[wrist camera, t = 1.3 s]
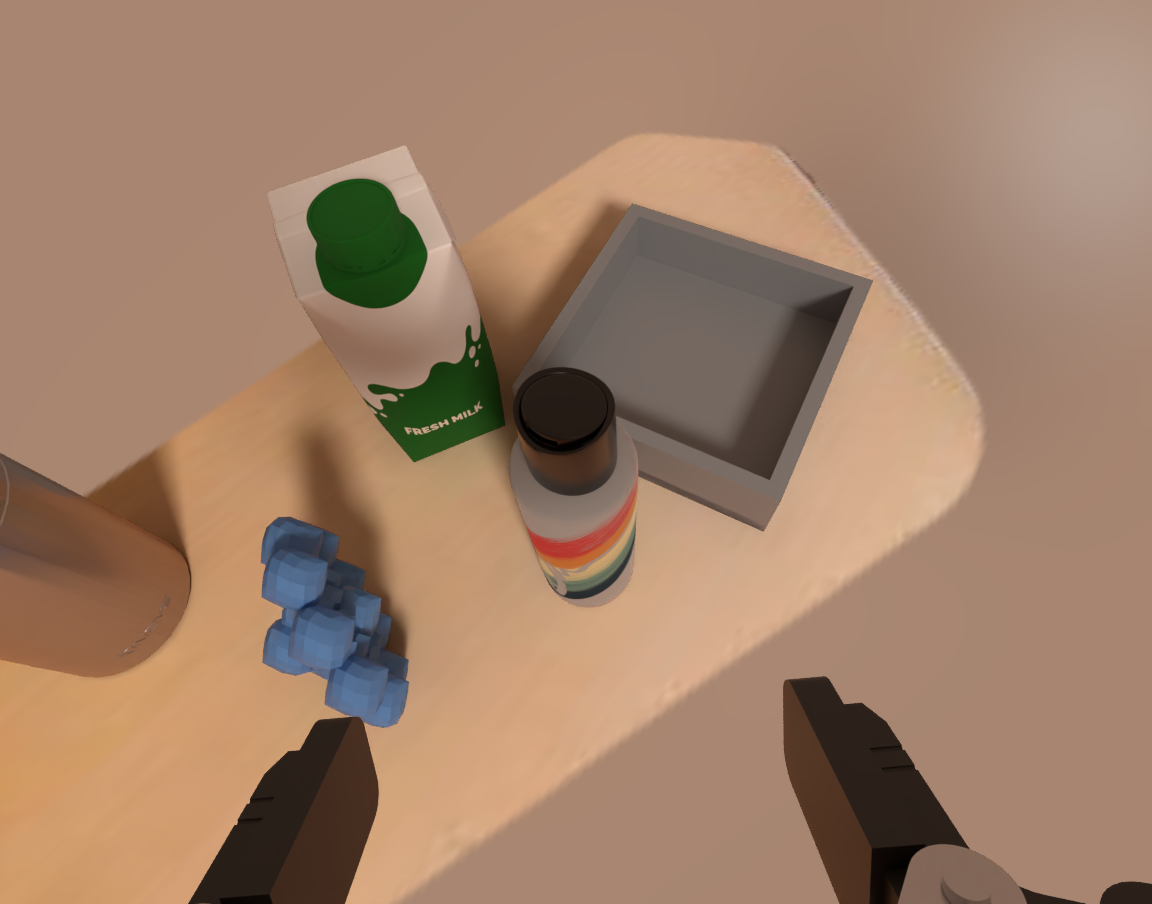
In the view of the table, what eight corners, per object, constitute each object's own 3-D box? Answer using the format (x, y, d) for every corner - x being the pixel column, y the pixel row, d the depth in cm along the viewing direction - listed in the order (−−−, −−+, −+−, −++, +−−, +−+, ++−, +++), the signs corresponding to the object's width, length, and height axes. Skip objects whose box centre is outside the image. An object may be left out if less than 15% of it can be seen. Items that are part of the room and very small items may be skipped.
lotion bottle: (527, 580, 41) (454, 426, 23) (574, 508, 43) (540, 315, 25) (604, 626, 39) (589, 500, 22) (650, 549, 41) (669, 375, 24)
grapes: (282, 595, 42) (165, 531, 31) (379, 544, 43) (298, 465, 32) (342, 771, 37) (228, 766, 26) (450, 708, 38) (383, 679, 27)
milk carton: (405, 478, 45) (263, 280, 27) (371, 380, 49) (227, 150, 31) (522, 431, 46) (459, 210, 28) (480, 338, 50) (401, 93, 32)
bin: (522, 424, 46) (511, 386, 42) (631, 252, 53) (632, 203, 49) (763, 531, 42) (780, 501, 37) (849, 326, 48) (873, 280, 44)
